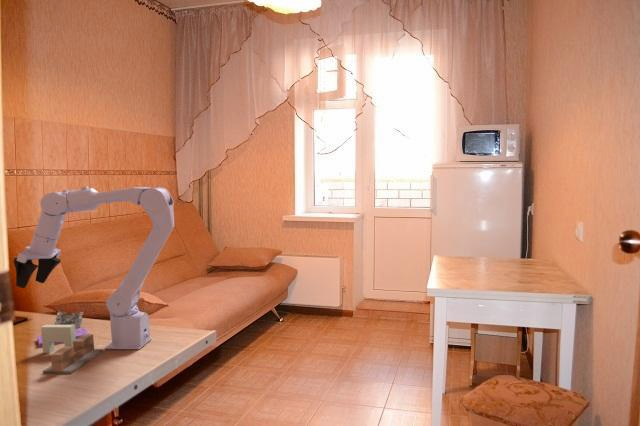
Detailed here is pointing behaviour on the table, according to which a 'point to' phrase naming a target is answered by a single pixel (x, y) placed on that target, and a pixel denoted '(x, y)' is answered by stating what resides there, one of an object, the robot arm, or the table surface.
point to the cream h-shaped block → (57, 336)
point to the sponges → (77, 333)
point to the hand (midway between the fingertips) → (30, 284)
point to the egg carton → (69, 319)
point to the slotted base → (73, 356)
